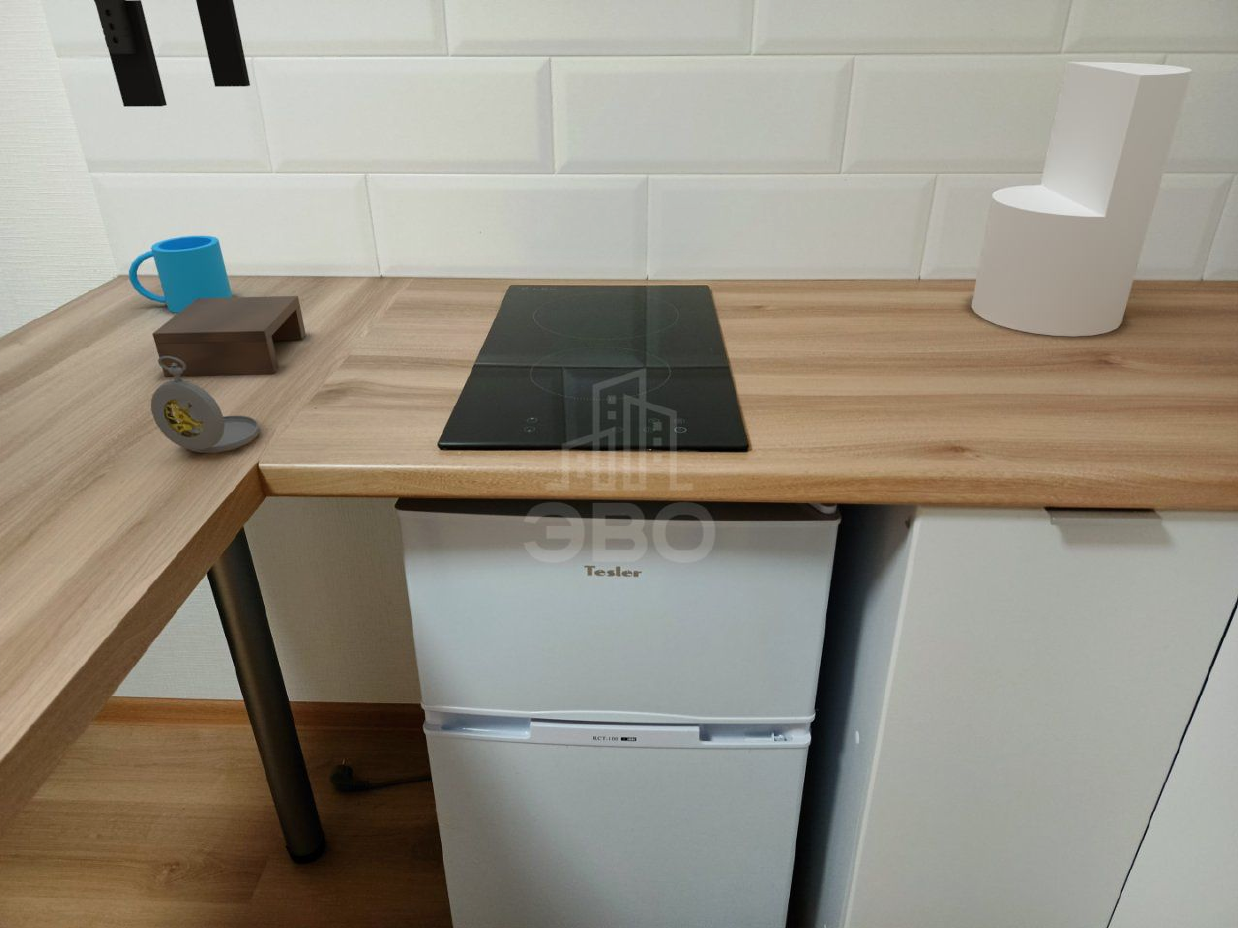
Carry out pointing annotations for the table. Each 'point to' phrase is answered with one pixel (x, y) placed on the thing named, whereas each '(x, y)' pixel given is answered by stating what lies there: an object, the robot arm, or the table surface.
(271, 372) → the stand
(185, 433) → the pocket watch
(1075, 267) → the white stepped block
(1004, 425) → the table surface
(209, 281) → the mug
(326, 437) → the table surface
